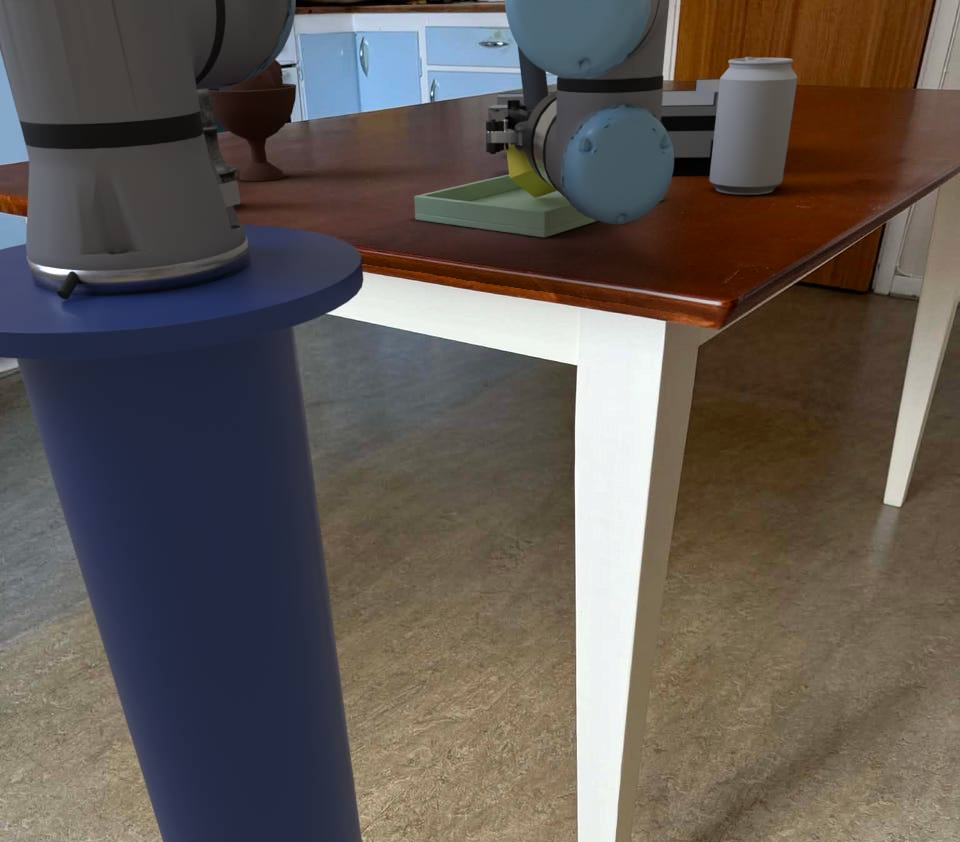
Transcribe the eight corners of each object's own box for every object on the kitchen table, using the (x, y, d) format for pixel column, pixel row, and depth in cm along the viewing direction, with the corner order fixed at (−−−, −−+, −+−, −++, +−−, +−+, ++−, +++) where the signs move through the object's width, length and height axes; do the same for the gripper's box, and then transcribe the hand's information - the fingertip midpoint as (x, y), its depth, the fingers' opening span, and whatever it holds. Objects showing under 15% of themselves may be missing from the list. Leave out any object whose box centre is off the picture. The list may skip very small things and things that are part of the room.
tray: (544, 237, 83) (544, 212, 81) (415, 219, 91) (413, 196, 89) (663, 200, 96) (665, 177, 95) (542, 187, 104) (542, 166, 103)
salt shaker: (237, 212, 96) (216, 75, 89) (179, 214, 96) (154, 76, 89) (246, 201, 101) (227, 71, 94) (191, 203, 100) (167, 72, 94)
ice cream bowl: (290, 185, 109) (272, 31, 100) (200, 184, 111) (174, 33, 102) (319, 170, 118) (304, 27, 109) (235, 170, 119) (214, 29, 111)
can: (752, 199, 96) (770, 60, 89) (693, 190, 100) (706, 58, 93) (795, 189, 99) (815, 56, 93) (736, 181, 104) (752, 54, 97)
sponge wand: (557, 161, 87) (539, 7, 87) (509, 178, 90) (491, 28, 89) (581, 183, 93) (564, 38, 92) (534, 198, 95) (518, 57, 94)
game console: (500, 152, 127) (499, 82, 122) (741, 150, 125) (749, 78, 120) (489, 177, 110) (488, 97, 105) (768, 175, 107) (779, 92, 103)
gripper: (484, 198, 79) (452, 158, 98) (663, 189, 80) (597, 152, 99) (482, 94, 74) (449, 74, 94) (672, 87, 76) (601, 69, 95)
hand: (525, 114), depth 97 cm, fingers closed on sponge wand, 2 cm apart
